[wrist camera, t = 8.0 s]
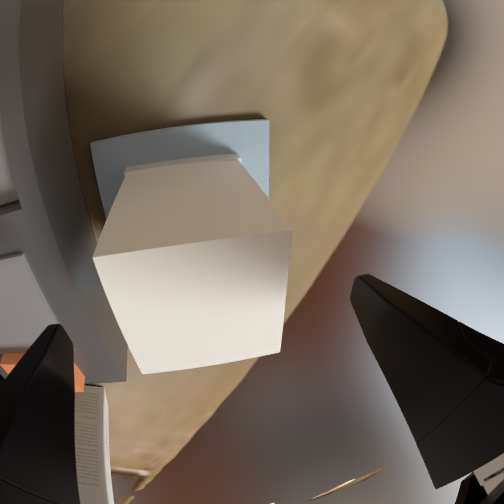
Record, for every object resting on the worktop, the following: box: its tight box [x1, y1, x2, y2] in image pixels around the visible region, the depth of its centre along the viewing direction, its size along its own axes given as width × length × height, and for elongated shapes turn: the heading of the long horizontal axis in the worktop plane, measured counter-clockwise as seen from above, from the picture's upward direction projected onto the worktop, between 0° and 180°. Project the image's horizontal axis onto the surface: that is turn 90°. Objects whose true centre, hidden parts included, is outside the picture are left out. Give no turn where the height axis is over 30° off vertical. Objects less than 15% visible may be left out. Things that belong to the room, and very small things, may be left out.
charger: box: [92, 153, 292, 374], centre depth 11 cm, size 5×5×7 cm
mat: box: [90, 119, 269, 220], centre depth 14 cm, size 8×8×1 cm
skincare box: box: [75, 385, 114, 504], centre depth 15 cm, size 6×4×12 cm
